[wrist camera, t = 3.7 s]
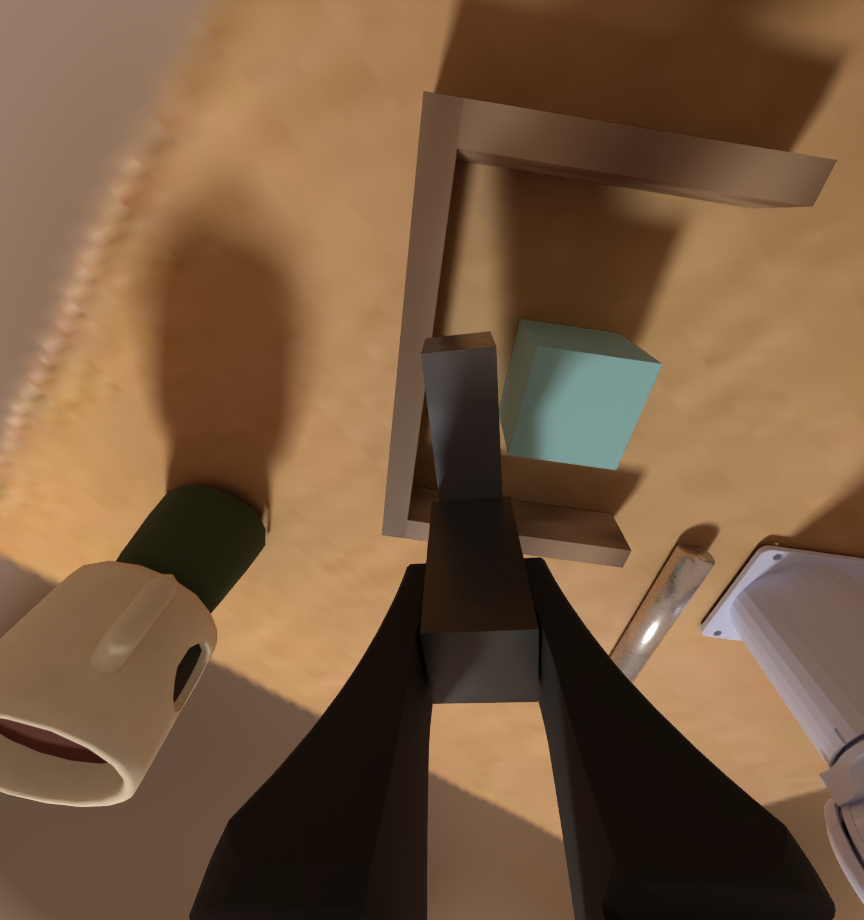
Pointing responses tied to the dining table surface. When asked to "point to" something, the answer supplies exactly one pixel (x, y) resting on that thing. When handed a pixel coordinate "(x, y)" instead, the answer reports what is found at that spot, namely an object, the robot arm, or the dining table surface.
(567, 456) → the teal block
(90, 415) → the dining table surface
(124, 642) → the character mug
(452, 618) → the dark grey bar
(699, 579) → the steel rod
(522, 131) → the wooden u-shaped frame
